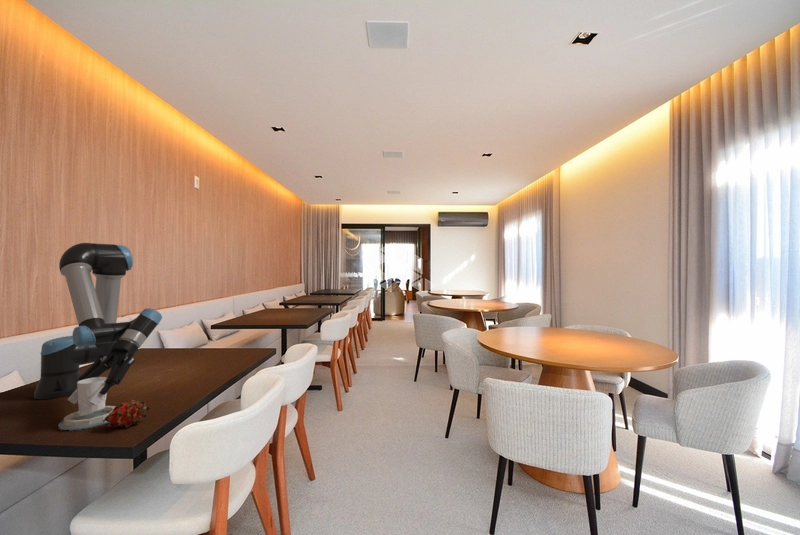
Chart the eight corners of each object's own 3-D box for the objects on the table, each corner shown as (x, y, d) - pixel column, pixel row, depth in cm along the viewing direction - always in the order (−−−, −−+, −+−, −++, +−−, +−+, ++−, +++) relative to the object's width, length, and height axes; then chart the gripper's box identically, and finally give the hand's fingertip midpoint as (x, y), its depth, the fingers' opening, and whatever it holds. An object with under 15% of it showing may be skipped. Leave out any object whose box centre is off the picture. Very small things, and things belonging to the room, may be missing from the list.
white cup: (88, 414, 112) (89, 384, 112) (69, 413, 113) (70, 382, 114) (113, 406, 120) (113, 377, 120) (95, 404, 121) (95, 376, 121)
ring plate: (44, 429, 110) (44, 421, 110) (96, 410, 126) (96, 403, 126) (85, 432, 107) (85, 424, 107) (133, 412, 123) (133, 405, 123)
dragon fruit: (152, 424, 117) (106, 441, 108) (146, 405, 121) (102, 420, 113) (151, 409, 113) (104, 426, 104) (145, 390, 117) (99, 404, 109)
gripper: (157, 350, 130) (115, 409, 114) (112, 349, 134) (65, 405, 118) (145, 339, 125) (99, 398, 109) (99, 337, 129) (47, 395, 113)
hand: (81, 402), depth 113 cm, fingers closed on white cup, 8 cm apart
